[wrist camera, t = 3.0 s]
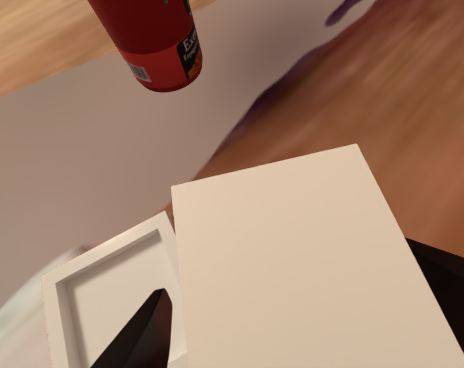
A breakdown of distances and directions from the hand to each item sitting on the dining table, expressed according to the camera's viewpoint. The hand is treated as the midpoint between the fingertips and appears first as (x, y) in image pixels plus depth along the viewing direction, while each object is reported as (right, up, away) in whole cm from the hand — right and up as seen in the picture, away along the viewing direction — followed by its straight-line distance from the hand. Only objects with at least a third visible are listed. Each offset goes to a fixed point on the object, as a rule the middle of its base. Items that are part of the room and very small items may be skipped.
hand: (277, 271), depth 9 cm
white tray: (-9, -6, +8) cm, 13 cm away
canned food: (-9, +17, +17) cm, 25 cm away
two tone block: (+1, -3, +7) cm, 8 cm away
